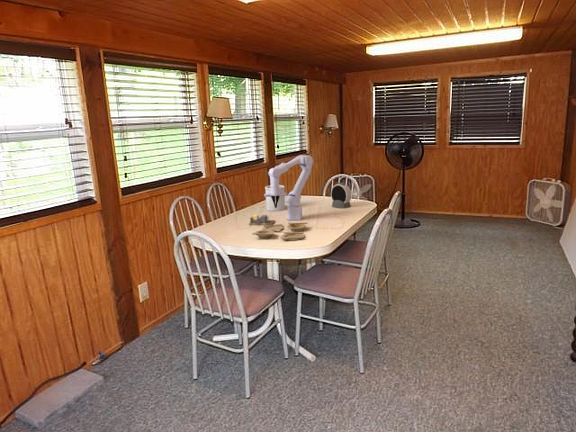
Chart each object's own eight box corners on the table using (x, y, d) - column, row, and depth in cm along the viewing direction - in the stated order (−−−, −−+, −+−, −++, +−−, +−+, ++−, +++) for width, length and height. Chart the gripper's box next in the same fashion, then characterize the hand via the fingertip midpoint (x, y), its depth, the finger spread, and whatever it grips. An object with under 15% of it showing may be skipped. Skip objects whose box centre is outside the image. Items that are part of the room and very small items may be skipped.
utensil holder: (287, 207, 323) (286, 184, 319) (283, 211, 309) (282, 187, 305) (268, 207, 326) (267, 185, 322) (264, 211, 312) (262, 188, 308)
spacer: (259, 221, 278) (258, 214, 277) (257, 222, 274) (256, 216, 273) (254, 221, 278) (254, 214, 277) (252, 222, 274) (252, 215, 273)
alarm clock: (328, 206, 319) (327, 182, 314) (337, 204, 325) (337, 180, 321) (345, 209, 307) (344, 184, 303) (353, 206, 313) (353, 182, 309)
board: (275, 221, 278) (275, 220, 278) (271, 225, 269) (271, 223, 269) (253, 221, 282) (253, 220, 281) (249, 225, 272) (249, 223, 272)
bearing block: (267, 221, 277) (267, 215, 276) (265, 223, 272) (264, 217, 271) (263, 220, 278) (262, 215, 277) (260, 223, 272) (260, 217, 271)
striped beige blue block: (268, 221, 275) (268, 216, 275) (267, 222, 273) (267, 217, 272) (258, 221, 277) (258, 216, 276) (257, 222, 274) (257, 217, 274)
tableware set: (302, 242, 230) (302, 235, 229) (250, 242, 235) (249, 235, 234) (310, 226, 263) (309, 220, 263) (264, 226, 269) (264, 220, 268)
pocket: (263, 220, 278) (263, 215, 278) (260, 223, 272) (260, 218, 271) (253, 220, 280) (253, 215, 279) (250, 223, 273) (250, 217, 273)
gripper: (285, 185, 276) (286, 205, 279) (263, 186, 276) (264, 206, 279) (286, 186, 270) (287, 207, 272) (263, 187, 269) (264, 208, 272)
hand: (275, 207), depth 275 cm, fingers closed
